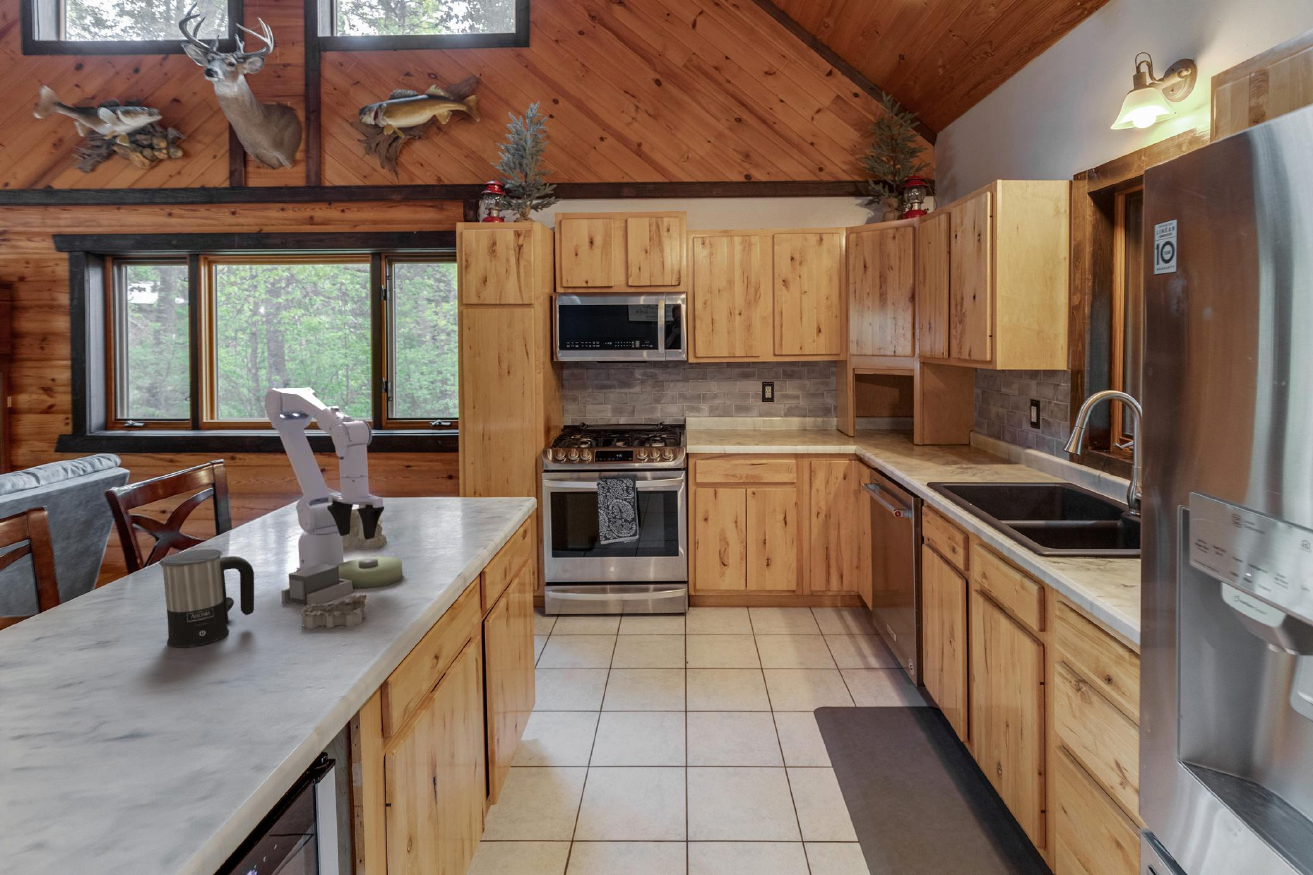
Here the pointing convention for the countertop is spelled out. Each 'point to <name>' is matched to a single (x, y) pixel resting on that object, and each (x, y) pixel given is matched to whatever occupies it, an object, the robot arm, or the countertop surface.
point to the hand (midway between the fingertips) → (357, 536)
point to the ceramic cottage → (362, 534)
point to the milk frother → (202, 595)
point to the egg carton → (335, 612)
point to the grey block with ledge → (311, 581)
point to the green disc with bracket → (356, 578)
